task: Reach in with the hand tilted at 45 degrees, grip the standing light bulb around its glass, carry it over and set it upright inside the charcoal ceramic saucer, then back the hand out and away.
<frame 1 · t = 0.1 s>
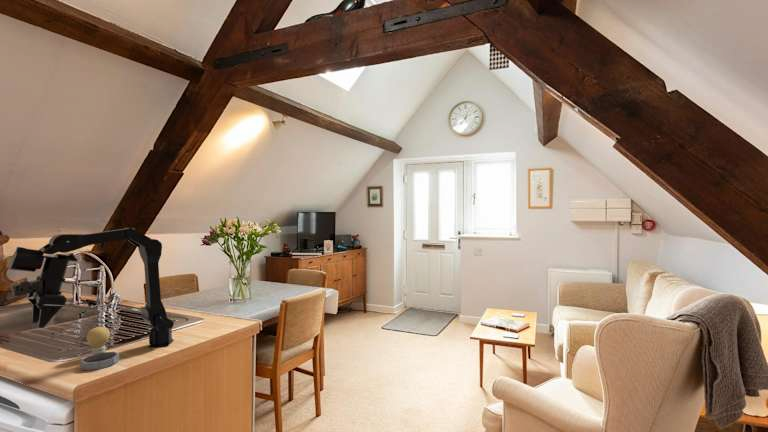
hand: (37, 325, 115), 15 cm above the counter, tool pointing down, fingers open, 9 cm apart
saucer: (100, 364, 124), on the counter
light bulb: (98, 356, 131), on the counter
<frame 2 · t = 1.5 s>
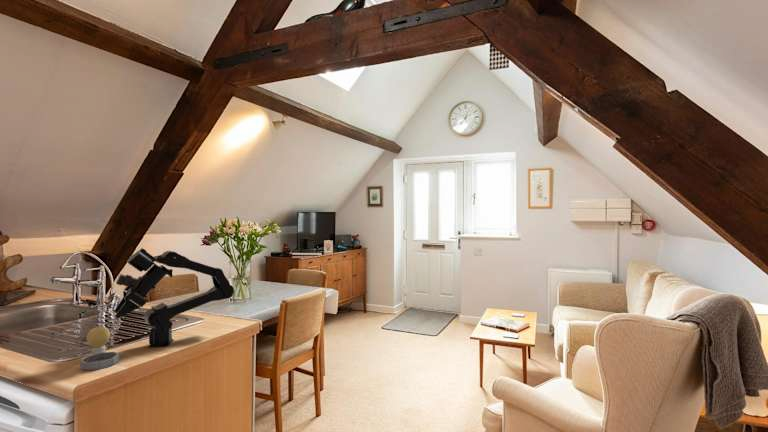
hand: (115, 314, 134), 14 cm above the counter, tool tilted 45°, fingers open, 9 cm apart
nothing on the counter moved.
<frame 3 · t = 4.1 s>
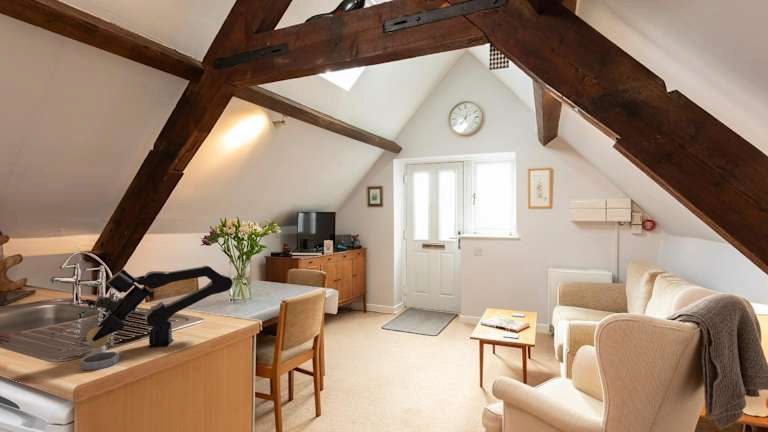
hand: (93, 337, 130), 7 cm above the counter, tool tilted 45°, fingers closed on light bulb, 6 cm apart
light bulb: (98, 356, 131), on the counter, touching gripper
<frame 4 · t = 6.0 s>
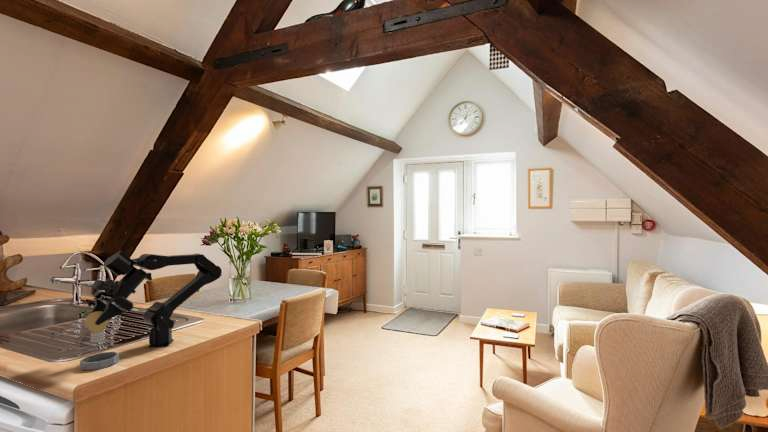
hand: (92, 322, 124), 13 cm above the counter, tool tilted 45°, fingers closed on light bulb, 6 cm apart
light bulb: (97, 342, 126), point 7 cm above the counter, touching gripper
when the fingers open (8 cm above the counter, at t = 7.9 s): light bulb drops 1 cm, resting on saucer.
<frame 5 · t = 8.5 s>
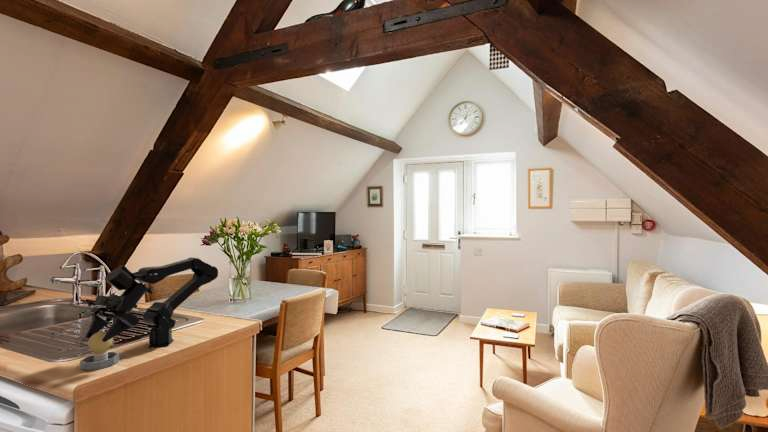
hand: (95, 339, 122), 9 cm above the counter, tool tilted 45°, fingers open, 9 cm apart
light bulb: (101, 363, 124), resting on saucer
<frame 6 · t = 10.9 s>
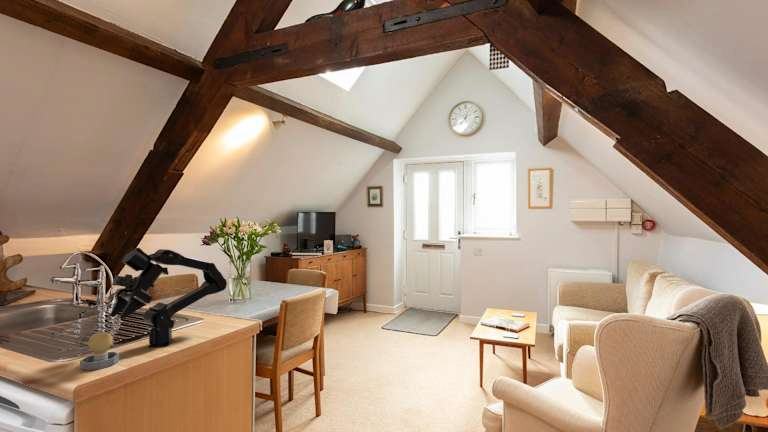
hand: (115, 317, 129), 14 cm above the counter, tool tilted 40°, fingers open, 9 cm apart
nothing on the counter moved.
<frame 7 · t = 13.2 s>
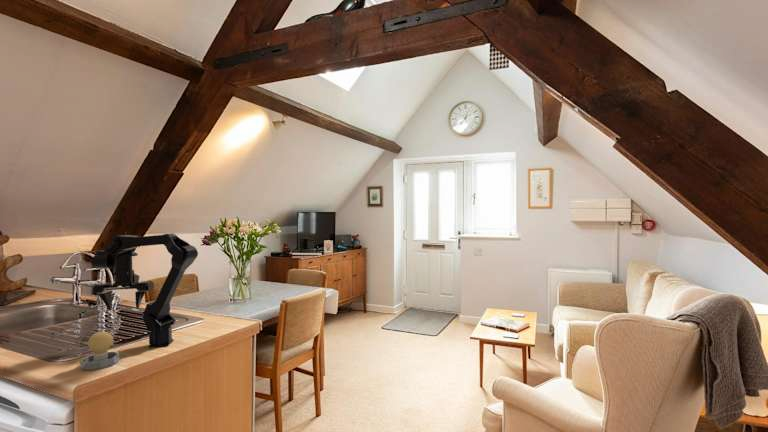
hand: (124, 309, 143), 13 cm above the counter, tool pointing down, fingers open, 9 cm apart
nothing on the counter moved.
at the end: light bulb 0.2 cm off-centre on the saucer, point 0.3 cm above the saucer's base; light bulb tilted 0°; the gripper is holding nothing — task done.
